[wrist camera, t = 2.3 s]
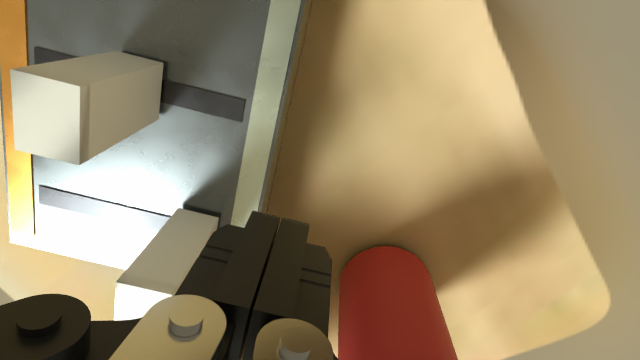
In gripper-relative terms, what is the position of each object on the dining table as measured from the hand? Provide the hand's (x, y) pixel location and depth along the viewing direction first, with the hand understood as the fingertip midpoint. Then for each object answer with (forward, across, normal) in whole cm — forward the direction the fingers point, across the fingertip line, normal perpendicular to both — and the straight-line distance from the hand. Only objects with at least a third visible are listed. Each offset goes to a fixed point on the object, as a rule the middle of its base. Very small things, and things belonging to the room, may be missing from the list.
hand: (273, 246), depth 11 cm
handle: (+12, +5, +8) cm, 15 cm away
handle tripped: (+12, +9, 0) cm, 15 cm away
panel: (+16, +9, 0) cm, 18 cm away
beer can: (+16, -8, +11) cm, 21 cm away
